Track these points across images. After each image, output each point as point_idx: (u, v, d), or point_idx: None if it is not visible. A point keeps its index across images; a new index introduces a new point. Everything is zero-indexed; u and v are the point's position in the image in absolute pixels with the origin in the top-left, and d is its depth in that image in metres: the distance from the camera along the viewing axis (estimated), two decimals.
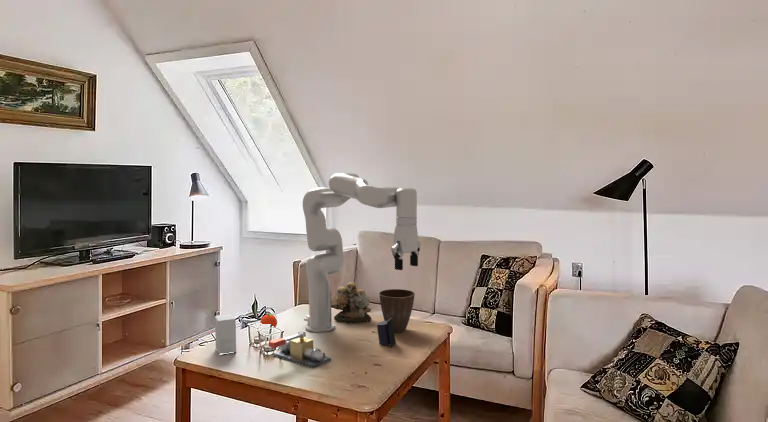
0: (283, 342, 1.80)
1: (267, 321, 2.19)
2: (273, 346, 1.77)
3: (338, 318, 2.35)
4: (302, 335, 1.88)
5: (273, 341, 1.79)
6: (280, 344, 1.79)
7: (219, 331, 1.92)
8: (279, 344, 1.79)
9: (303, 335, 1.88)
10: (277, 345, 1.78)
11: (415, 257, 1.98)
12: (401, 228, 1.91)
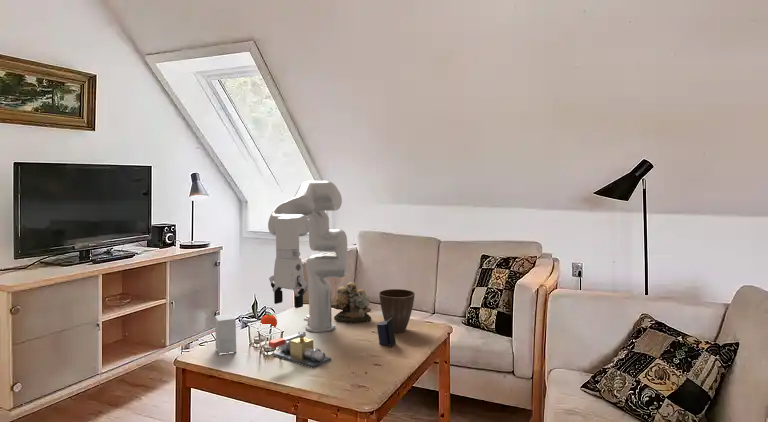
0: (283, 342, 1.80)
1: (267, 321, 2.19)
2: (273, 346, 1.77)
3: (338, 318, 2.35)
4: (302, 335, 1.88)
5: (273, 341, 1.79)
6: (280, 344, 1.79)
7: (219, 331, 1.92)
8: (279, 344, 1.79)
9: (303, 335, 1.88)
10: (277, 345, 1.78)
11: None
12: None
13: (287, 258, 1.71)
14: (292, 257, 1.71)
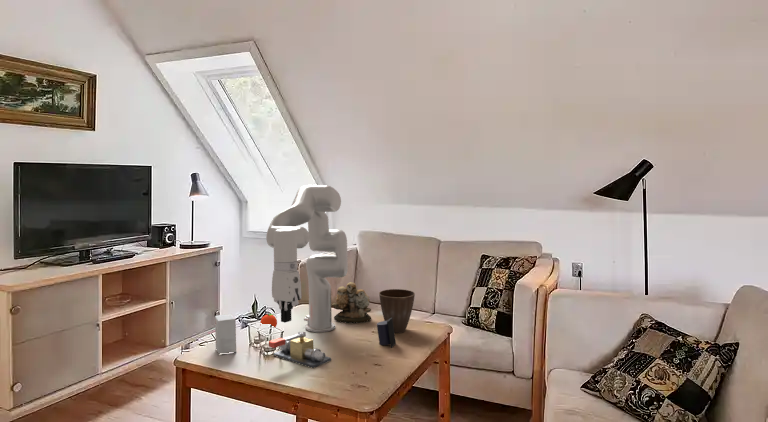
0: (283, 342, 1.80)
1: (267, 321, 2.19)
2: (273, 346, 1.77)
3: (338, 318, 2.35)
4: (302, 335, 1.88)
5: (273, 341, 1.79)
6: (280, 344, 1.79)
7: (219, 331, 1.92)
8: (279, 344, 1.79)
9: (303, 335, 1.88)
10: (277, 345, 1.78)
11: None
12: None
13: (285, 270, 1.70)
14: (290, 269, 1.71)
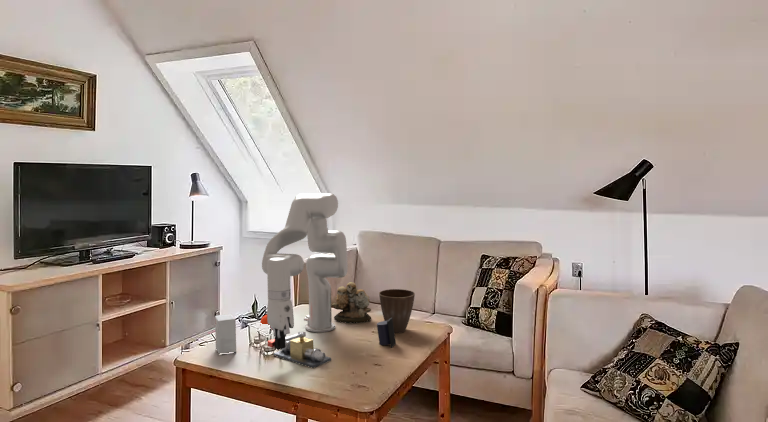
0: None
1: (267, 321, 2.19)
2: (271, 346, 1.78)
3: (338, 318, 2.35)
4: (302, 335, 1.88)
5: (272, 341, 1.79)
6: None
7: (219, 331, 1.92)
8: None
9: (303, 335, 1.88)
10: None
11: None
12: None
13: (276, 299, 1.73)
14: (281, 298, 1.73)
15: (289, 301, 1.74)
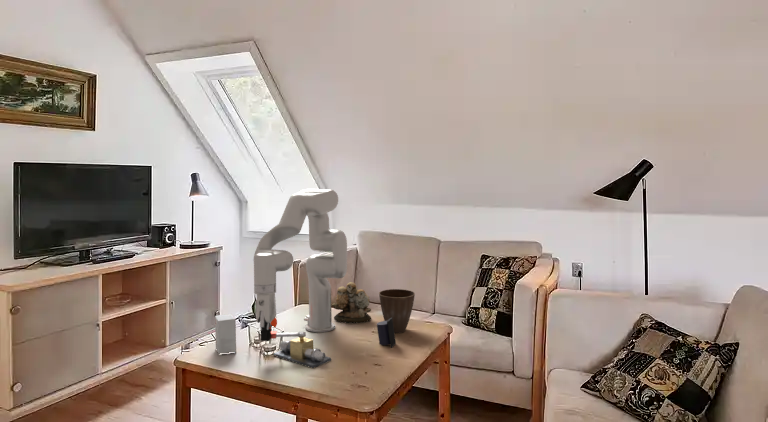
0: (273, 336, 1.87)
1: None
2: None
3: (338, 318, 2.35)
4: (299, 335, 1.88)
5: None
6: None
7: (219, 331, 1.92)
8: None
9: (300, 335, 1.88)
10: None
11: None
12: None
13: (255, 292, 1.82)
14: (258, 292, 1.81)
15: (265, 296, 1.80)
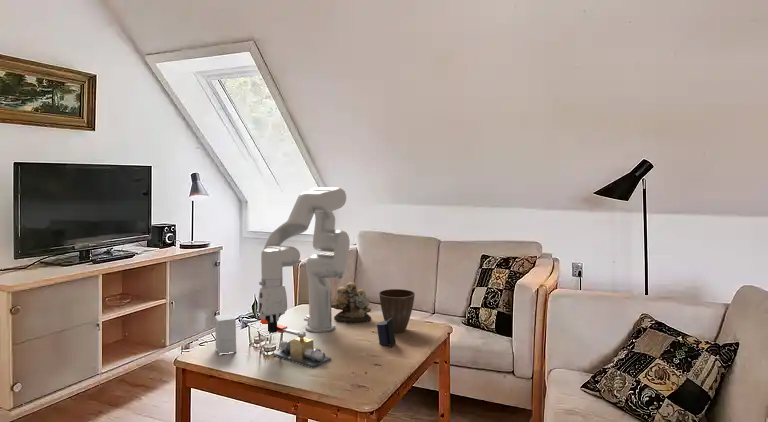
0: (280, 330, 1.94)
1: (267, 321, 2.19)
2: None
3: (338, 318, 2.35)
4: (297, 334, 1.89)
5: (277, 325, 1.97)
6: (278, 330, 1.95)
7: (219, 331, 1.92)
8: None
9: (298, 335, 1.88)
10: None
11: None
12: None
13: None
14: (261, 285, 1.91)
15: (263, 289, 1.89)
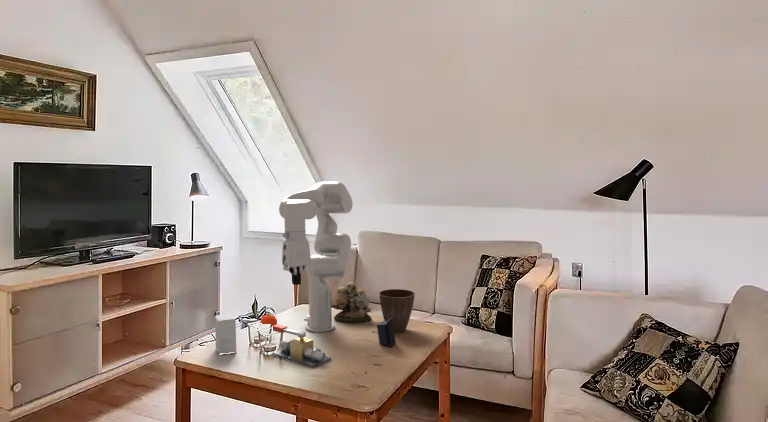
0: (280, 330, 1.94)
1: (267, 321, 2.19)
2: None
3: (338, 318, 2.35)
4: (297, 334, 1.89)
5: (277, 325, 1.97)
6: (278, 330, 1.95)
7: (219, 331, 1.92)
8: (276, 330, 1.95)
9: (298, 335, 1.88)
10: (275, 330, 1.96)
11: None
12: None
13: None
14: (285, 237, 1.93)
15: (287, 241, 1.90)
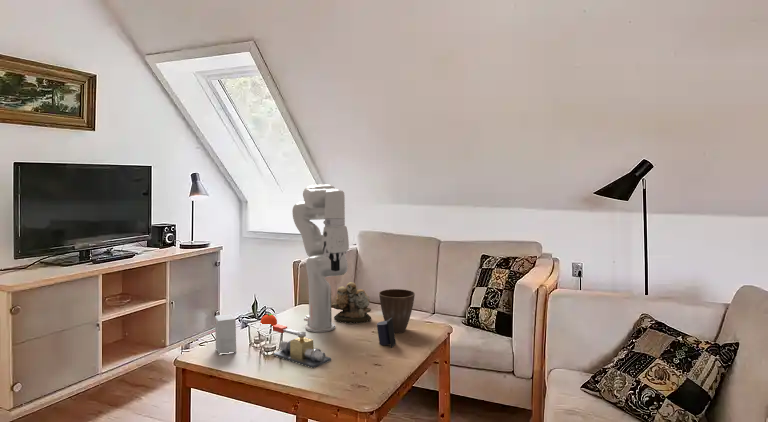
0: (280, 330, 1.94)
1: (267, 321, 2.19)
2: None
3: (338, 318, 2.35)
4: (297, 334, 1.89)
5: (277, 325, 1.97)
6: (278, 330, 1.95)
7: (219, 331, 1.92)
8: (276, 330, 1.95)
9: (298, 335, 1.88)
10: (275, 330, 1.96)
11: None
12: None
13: (325, 225, 2.00)
14: (325, 224, 1.99)
15: (328, 228, 1.96)
